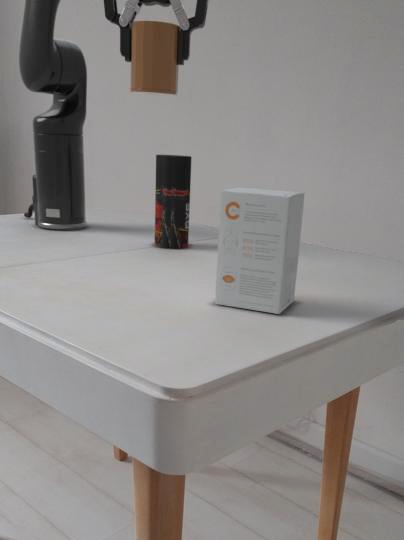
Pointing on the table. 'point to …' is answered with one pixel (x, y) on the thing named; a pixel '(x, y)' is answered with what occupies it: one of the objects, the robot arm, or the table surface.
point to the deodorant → (172, 201)
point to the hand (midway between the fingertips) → (154, 62)
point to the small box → (258, 248)
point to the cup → (154, 58)
